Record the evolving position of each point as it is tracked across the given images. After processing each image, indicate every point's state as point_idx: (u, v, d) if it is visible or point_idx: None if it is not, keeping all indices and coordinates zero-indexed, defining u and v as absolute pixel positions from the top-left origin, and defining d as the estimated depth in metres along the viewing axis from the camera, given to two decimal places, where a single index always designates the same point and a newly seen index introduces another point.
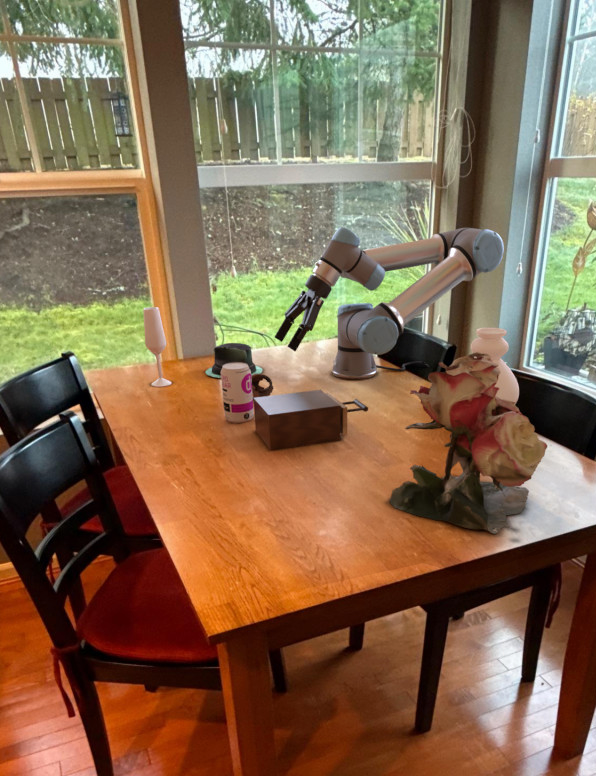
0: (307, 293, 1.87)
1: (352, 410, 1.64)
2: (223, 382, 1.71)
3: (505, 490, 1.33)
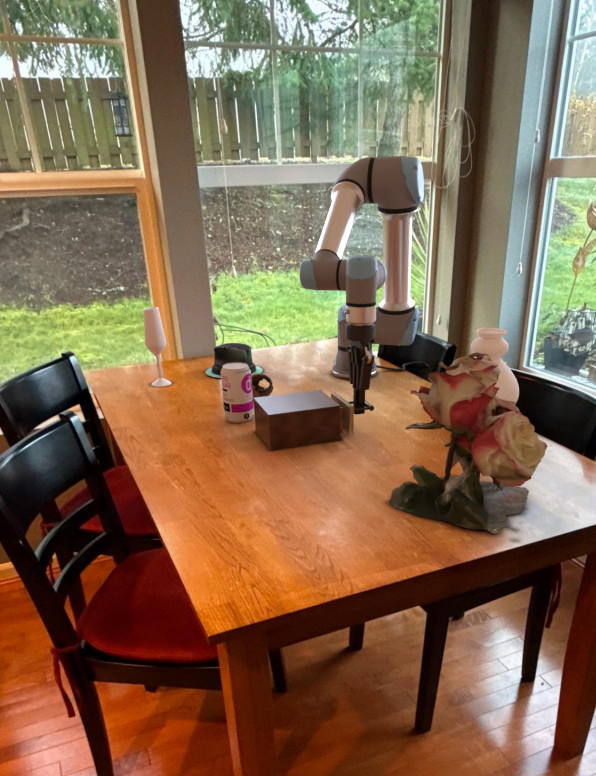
0: (353, 342, 1.61)
1: (358, 409, 1.65)
2: (223, 382, 1.71)
3: (505, 490, 1.33)
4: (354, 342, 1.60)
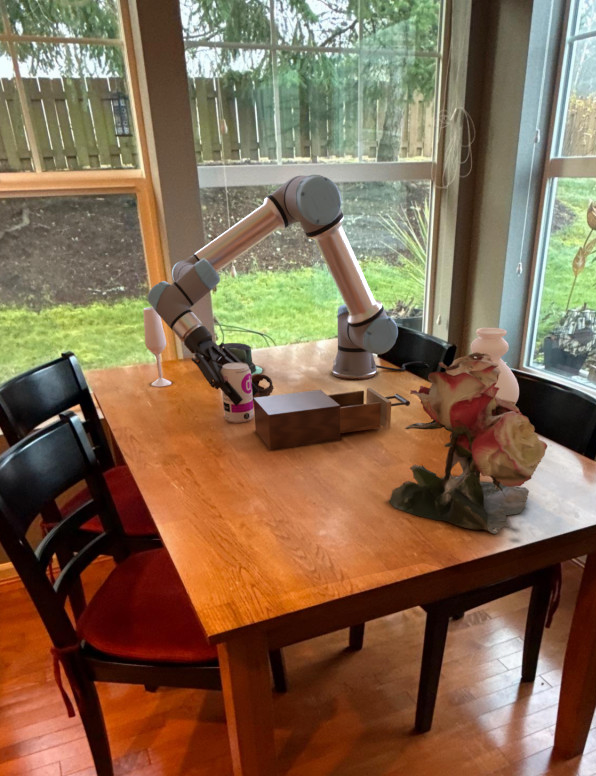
0: None
1: (395, 404, 1.68)
2: None
3: (505, 490, 1.33)
4: None
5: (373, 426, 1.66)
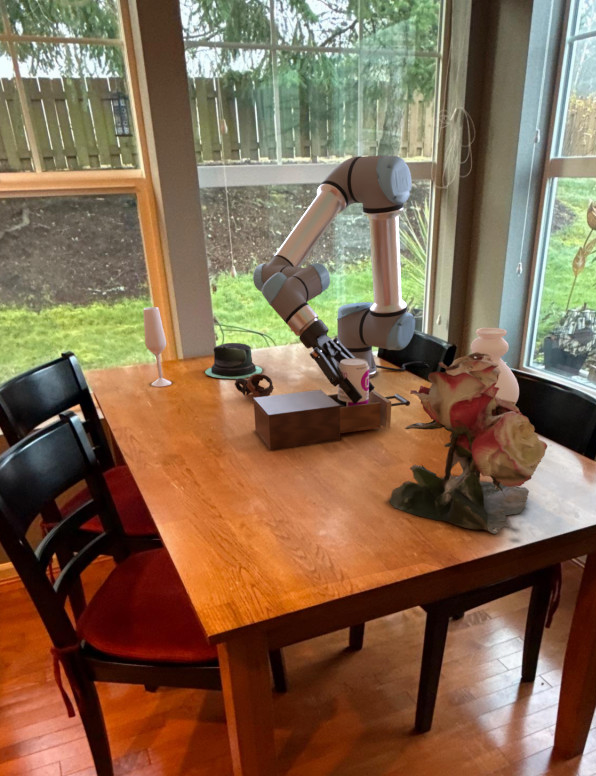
0: None
1: (395, 404, 1.68)
2: None
3: (505, 490, 1.33)
4: None
5: (373, 426, 1.66)
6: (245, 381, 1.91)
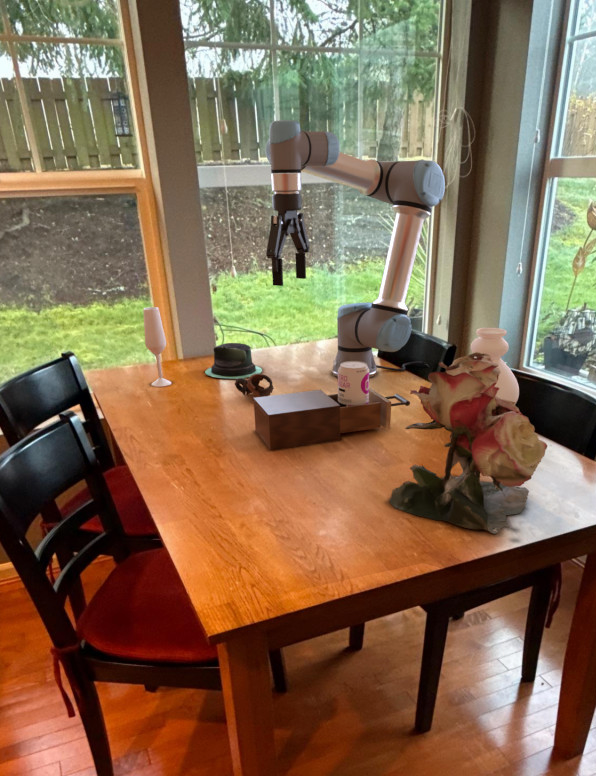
0: None
1: (395, 404, 1.68)
2: (341, 382, 1.62)
3: (505, 490, 1.33)
4: None
5: (373, 426, 1.66)
6: (245, 381, 1.91)
